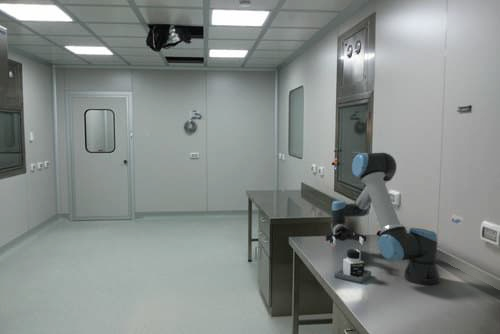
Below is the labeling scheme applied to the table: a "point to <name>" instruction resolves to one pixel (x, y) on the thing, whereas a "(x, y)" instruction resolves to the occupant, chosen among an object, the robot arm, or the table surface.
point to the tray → (341, 275)
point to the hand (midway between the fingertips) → (349, 242)
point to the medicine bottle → (353, 263)
